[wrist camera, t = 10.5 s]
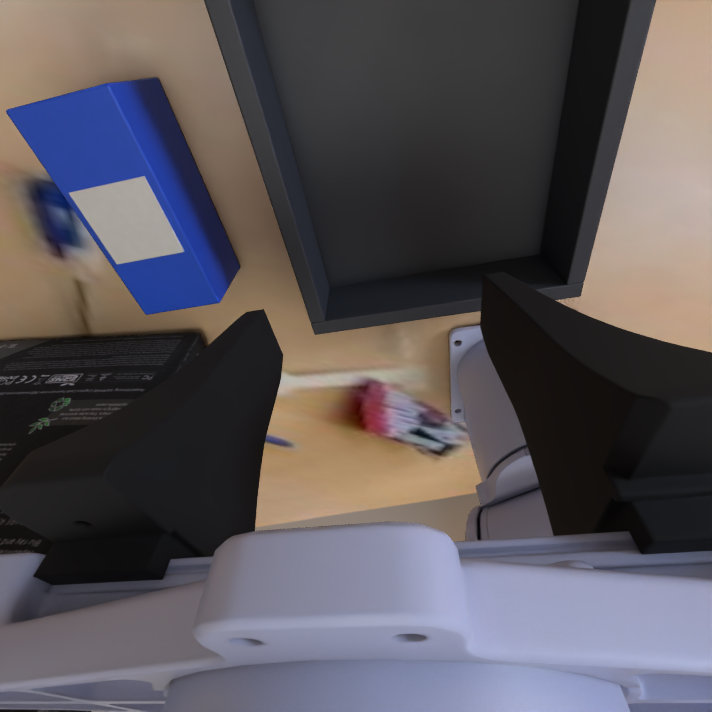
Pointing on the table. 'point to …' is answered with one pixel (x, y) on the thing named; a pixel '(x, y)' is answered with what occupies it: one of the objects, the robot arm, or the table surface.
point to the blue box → (134, 190)
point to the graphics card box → (72, 400)
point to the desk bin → (432, 142)
